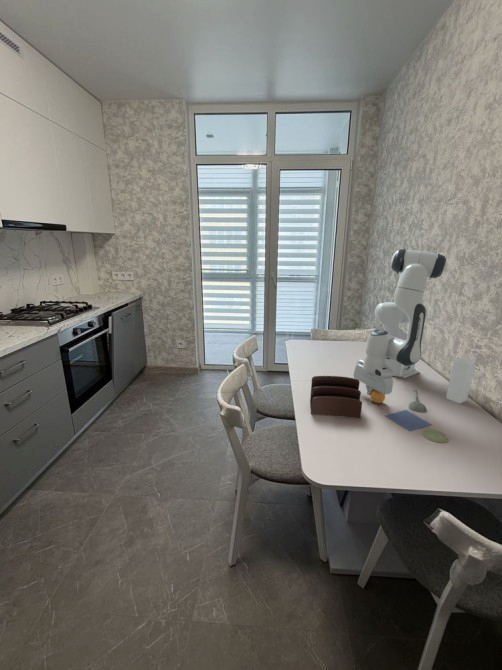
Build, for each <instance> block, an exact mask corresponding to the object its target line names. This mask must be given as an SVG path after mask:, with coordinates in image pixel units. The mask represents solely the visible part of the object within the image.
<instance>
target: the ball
mask: <svg viewBox="0 0 502 670" xmlns="http://www.w3.org/2000/svg"><path fill="white" fill-rule="evenodd" d="M370 399H371V401H372V402H373V403H376V404H381V403H383V402H384V401H385V400H386V395H384V394H382V393H380V392H379V391H377V390H373V391H372V392H371V395H370Z"/></svg>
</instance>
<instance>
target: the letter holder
mask: <svg viewBox="0 0 502 670" xmlns="http://www.w3.org/2000/svg"><path fill="white" fill-rule="evenodd" d="M360 382H361V381H359V380H357V379H355V378H354V377H348V376H339V375H337V376H336V375H315V376H313V377H312V378H311V385H310V386H311V387H310V398H309V405H310V414H311V415H316V416H317V415H318V416H327V417H328V416H329V417H339V418H348V419H349V418H352V419H361V418H362V408H363V402H362V400H361V394H362V393H361V391H360V390H359V388H360Z"/></svg>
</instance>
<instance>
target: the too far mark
mask: <svg viewBox="0 0 502 670" xmlns="http://www.w3.org/2000/svg"><path fill="white" fill-rule="evenodd" d="M422 435H423V436H424V438H426V439H427V440H429V441H431V442H434V443H439V444H445V443H448V442H449V437H448V436H447V435H446V434H444V433H443V432H441V431H439V430H436V429H435V430H434V429H426V430H423V432H422Z"/></svg>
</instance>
